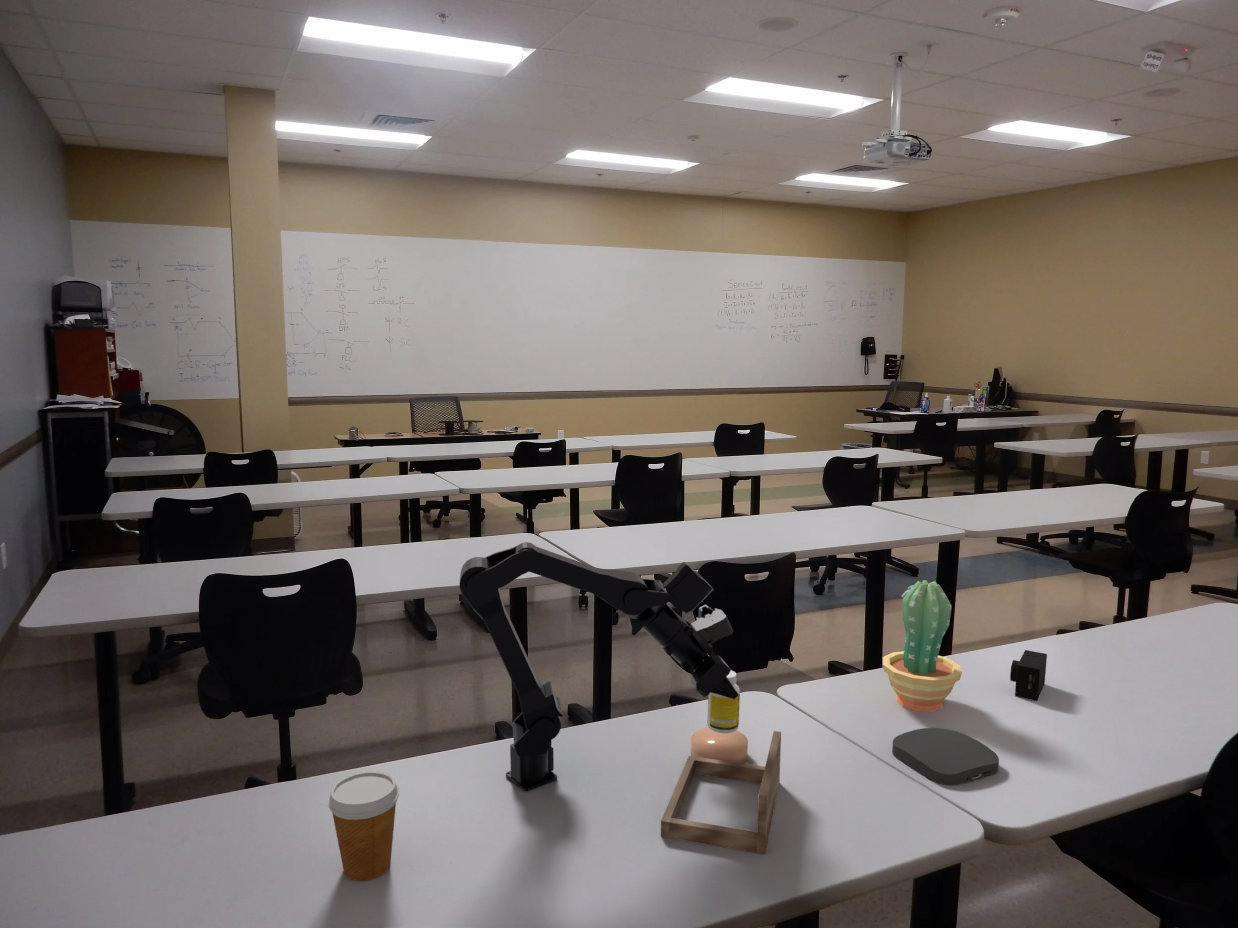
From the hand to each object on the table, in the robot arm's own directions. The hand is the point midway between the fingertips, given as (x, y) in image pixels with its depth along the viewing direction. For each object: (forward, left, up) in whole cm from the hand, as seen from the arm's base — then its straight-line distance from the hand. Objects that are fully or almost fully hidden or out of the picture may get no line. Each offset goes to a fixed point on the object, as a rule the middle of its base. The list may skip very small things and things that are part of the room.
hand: (731, 689), depth 144 cm
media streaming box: (+30, -23, -14) cm, 40 cm away
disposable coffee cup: (-61, +11, -13) cm, 64 cm away
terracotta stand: (0, +3, -13) cm, 13 cm away
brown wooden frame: (-11, -10, -13) cm, 20 cm away
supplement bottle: (-1, +1, -7) cm, 7 cm away
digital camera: (+71, -18, -14) cm, 75 cm away
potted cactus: (+48, -7, -13) cm, 50 cm away
